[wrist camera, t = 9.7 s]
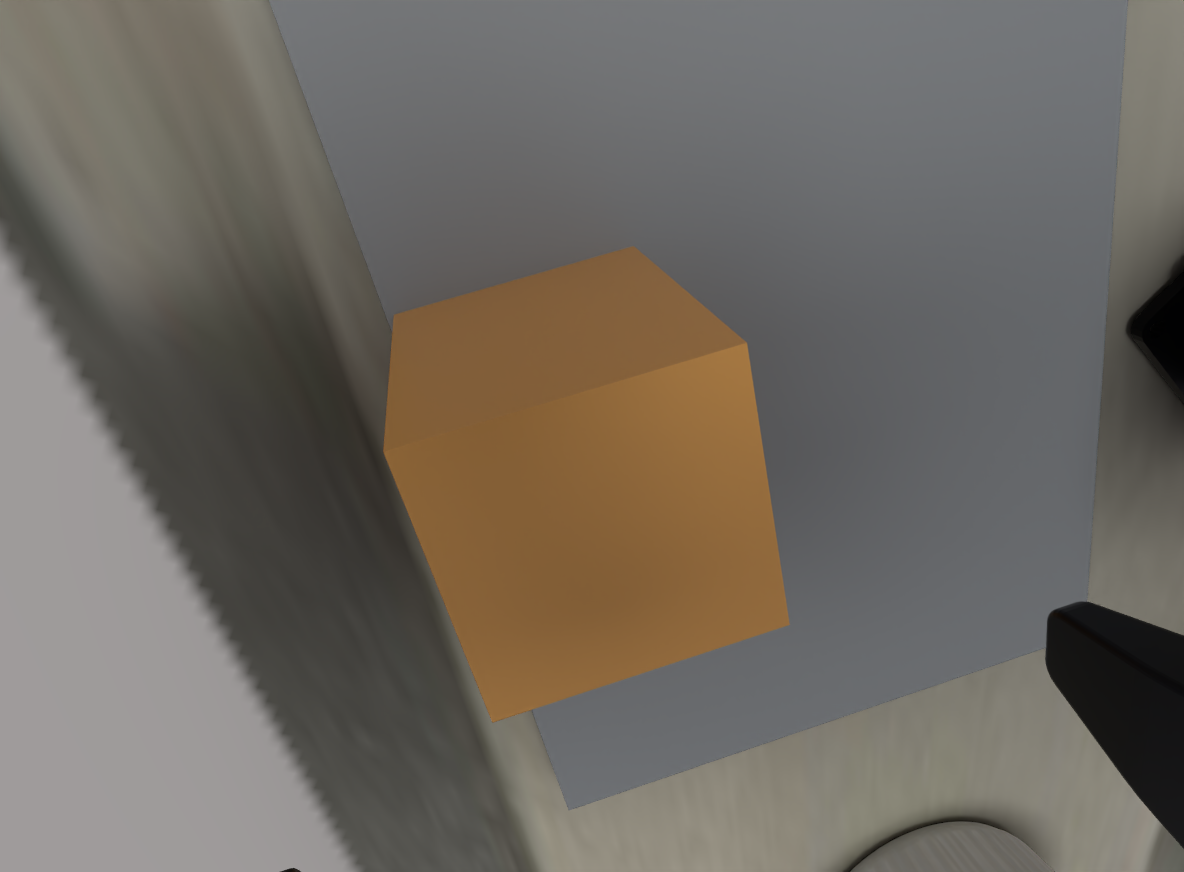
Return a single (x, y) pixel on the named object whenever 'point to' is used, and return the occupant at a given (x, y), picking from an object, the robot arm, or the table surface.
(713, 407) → the orange cardboard-tone cube
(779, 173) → the flat grey board
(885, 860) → the ramekin
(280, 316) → the table surface
